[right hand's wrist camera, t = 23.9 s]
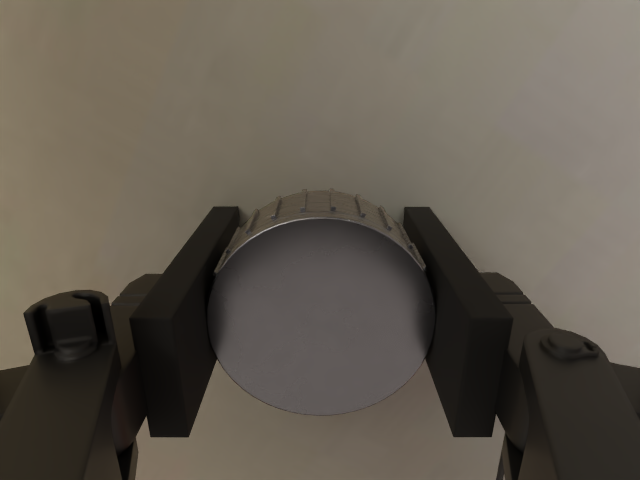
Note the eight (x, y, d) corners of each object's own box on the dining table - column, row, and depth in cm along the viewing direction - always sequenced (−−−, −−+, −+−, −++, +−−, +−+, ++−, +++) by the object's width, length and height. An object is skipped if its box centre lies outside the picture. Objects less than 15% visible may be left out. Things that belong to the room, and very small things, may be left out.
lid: (237, 372, 13) (223, 426, 11) (204, 196, 11) (180, 224, 9) (421, 358, 13) (438, 410, 11) (419, 177, 11) (440, 202, 9)
